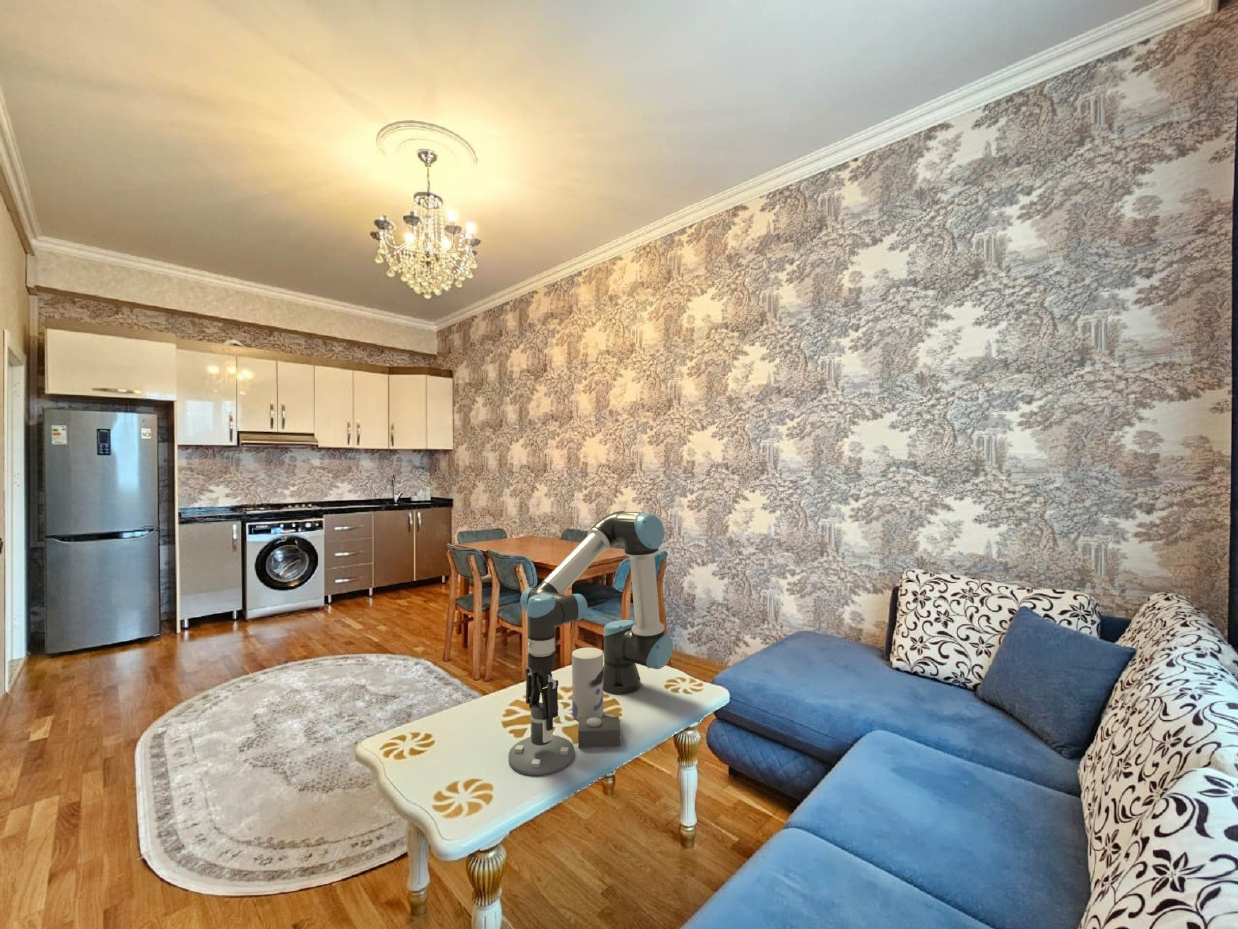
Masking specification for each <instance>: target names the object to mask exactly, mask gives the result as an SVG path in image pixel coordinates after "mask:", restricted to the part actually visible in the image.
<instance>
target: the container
mask: <svg viewBox="0 0 1238 929" xmlns="http://www.w3.org/2000/svg"><path fill="white" fill-rule="evenodd" d="M571 660H572V661H571V662H572V663H571V676H572V677H571V678H572V679H571V682H572V684H571V687H572V688H571V689H572V693H571V694H572V697H571V699H572V705H571V706H572V708H571V711H572V712H571V713H572V717H573V718H574V719H575V720H577V721H579V718H583V717H604V716H603V715H604V691H603V666H604V650H602V649H599V648H596V647H581V648H576V649H575V650H573V651H572V653H571Z"/></svg>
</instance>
